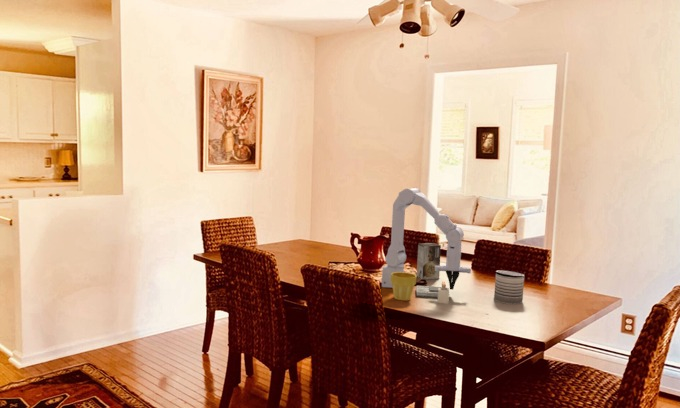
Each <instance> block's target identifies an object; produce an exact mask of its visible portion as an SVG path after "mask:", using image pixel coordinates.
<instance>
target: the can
mask: <svg viewBox="0 0 680 408" xmlns="http://www.w3.org/2000/svg"><path fill="white" fill-rule="evenodd" d="M495 272H496V273H495V282H494V294H493V300H494V301H496V302H498V303H502V304H507V305H519V304H520V305H521V304H522V303H523V301H524V299H523V298H524V287H525V285H524V284H525V274H523V273H520V272H516V271H509V270H500V269H499V270H496V271H495Z"/></svg>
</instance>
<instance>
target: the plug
mask: <svg viewBox="0 0 680 408" xmlns="http://www.w3.org/2000/svg"><path fill="white" fill-rule="evenodd" d="M440 287H441V288H438V298H437V303H439V304H449V298H450V287H446V288H445V287H442V286H440Z"/></svg>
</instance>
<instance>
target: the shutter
mask: <svg viewBox="0 0 680 408" xmlns="http://www.w3.org/2000/svg"><path fill="white" fill-rule="evenodd" d="M428 286H429V285H428ZM446 286H447V285H446V281H441V286H431V285H430V286H429V290H430V291H431V292H438V288H441V287H445V288H447V287H446Z"/></svg>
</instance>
